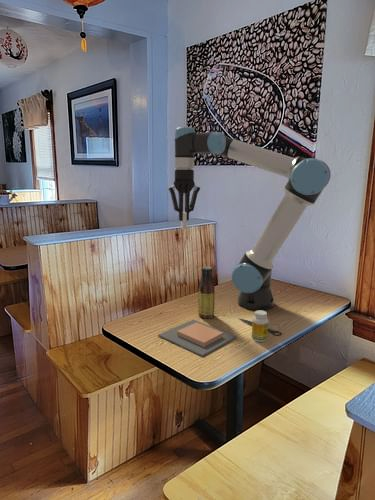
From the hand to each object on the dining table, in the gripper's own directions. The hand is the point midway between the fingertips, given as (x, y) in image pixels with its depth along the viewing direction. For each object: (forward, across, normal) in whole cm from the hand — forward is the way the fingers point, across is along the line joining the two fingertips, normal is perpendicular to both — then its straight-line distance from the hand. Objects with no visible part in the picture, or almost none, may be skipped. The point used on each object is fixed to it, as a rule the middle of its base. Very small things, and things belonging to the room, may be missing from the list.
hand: (183, 228), depth 149 cm
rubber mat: (+32, +4, +31) cm, 45 cm away
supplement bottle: (+33, -16, +38) cm, 53 cm away
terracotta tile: (+31, +6, +27) cm, 41 cm away
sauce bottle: (+33, -5, +15) cm, 36 cm away
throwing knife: (+33, -20, +29) cm, 48 cm away
